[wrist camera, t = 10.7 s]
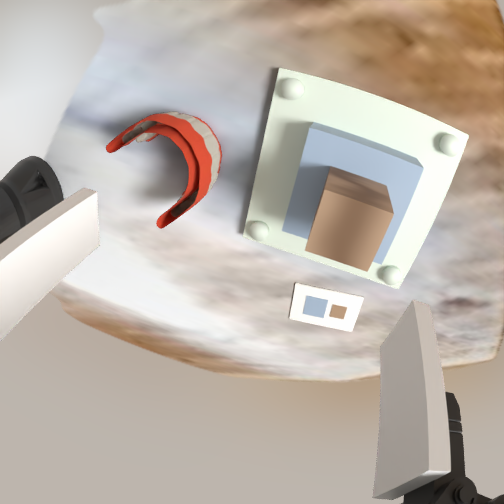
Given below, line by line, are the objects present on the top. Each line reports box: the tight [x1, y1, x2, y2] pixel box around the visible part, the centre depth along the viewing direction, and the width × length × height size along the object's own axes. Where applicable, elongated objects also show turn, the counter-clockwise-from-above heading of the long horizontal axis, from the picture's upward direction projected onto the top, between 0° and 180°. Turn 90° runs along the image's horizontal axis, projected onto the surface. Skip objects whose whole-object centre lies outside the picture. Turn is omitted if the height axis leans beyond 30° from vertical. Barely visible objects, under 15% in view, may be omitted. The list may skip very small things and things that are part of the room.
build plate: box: [243, 68, 469, 289], centre depth 35 cm, size 22×22×2 cm
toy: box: [106, 112, 222, 229], centre depth 36 cm, size 12×10×8 cm
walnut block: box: [305, 166, 394, 272], centre depth 29 cm, size 6×6×7 cm
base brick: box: [282, 122, 424, 265], centre depth 33 cm, size 12×12×4 cm
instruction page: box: [289, 283, 364, 332], centre depth 46 cm, size 10×7×1 cm
